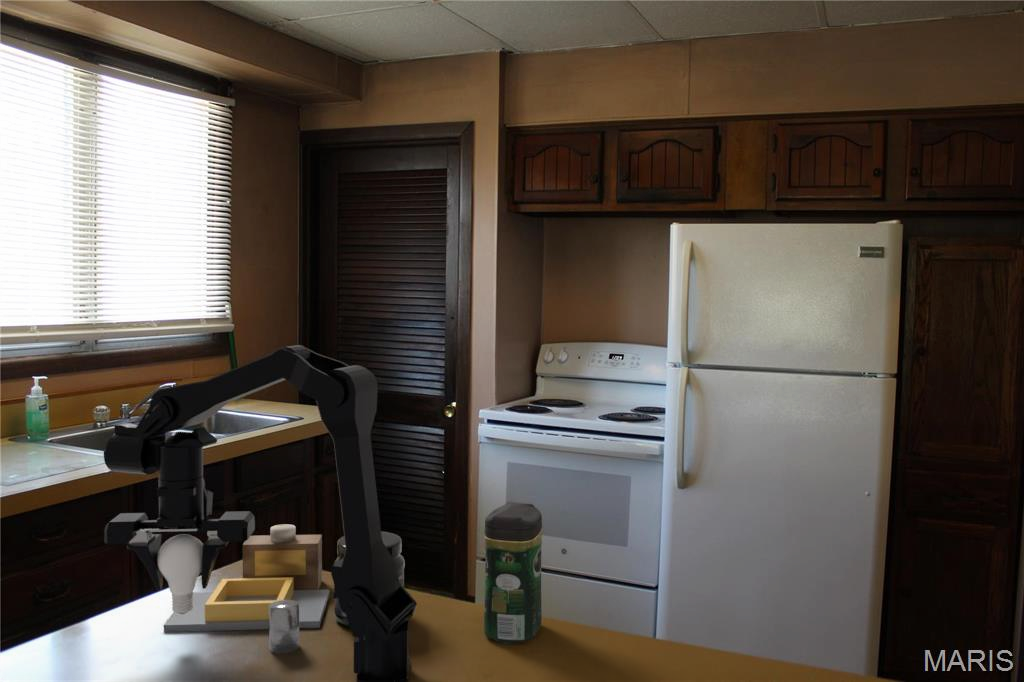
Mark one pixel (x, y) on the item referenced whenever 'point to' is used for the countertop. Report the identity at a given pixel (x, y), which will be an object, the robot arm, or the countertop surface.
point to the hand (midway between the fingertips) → (182, 588)
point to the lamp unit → (285, 557)
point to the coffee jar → (513, 573)
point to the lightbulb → (181, 568)
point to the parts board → (247, 605)
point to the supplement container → (394, 548)
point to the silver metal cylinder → (283, 626)
